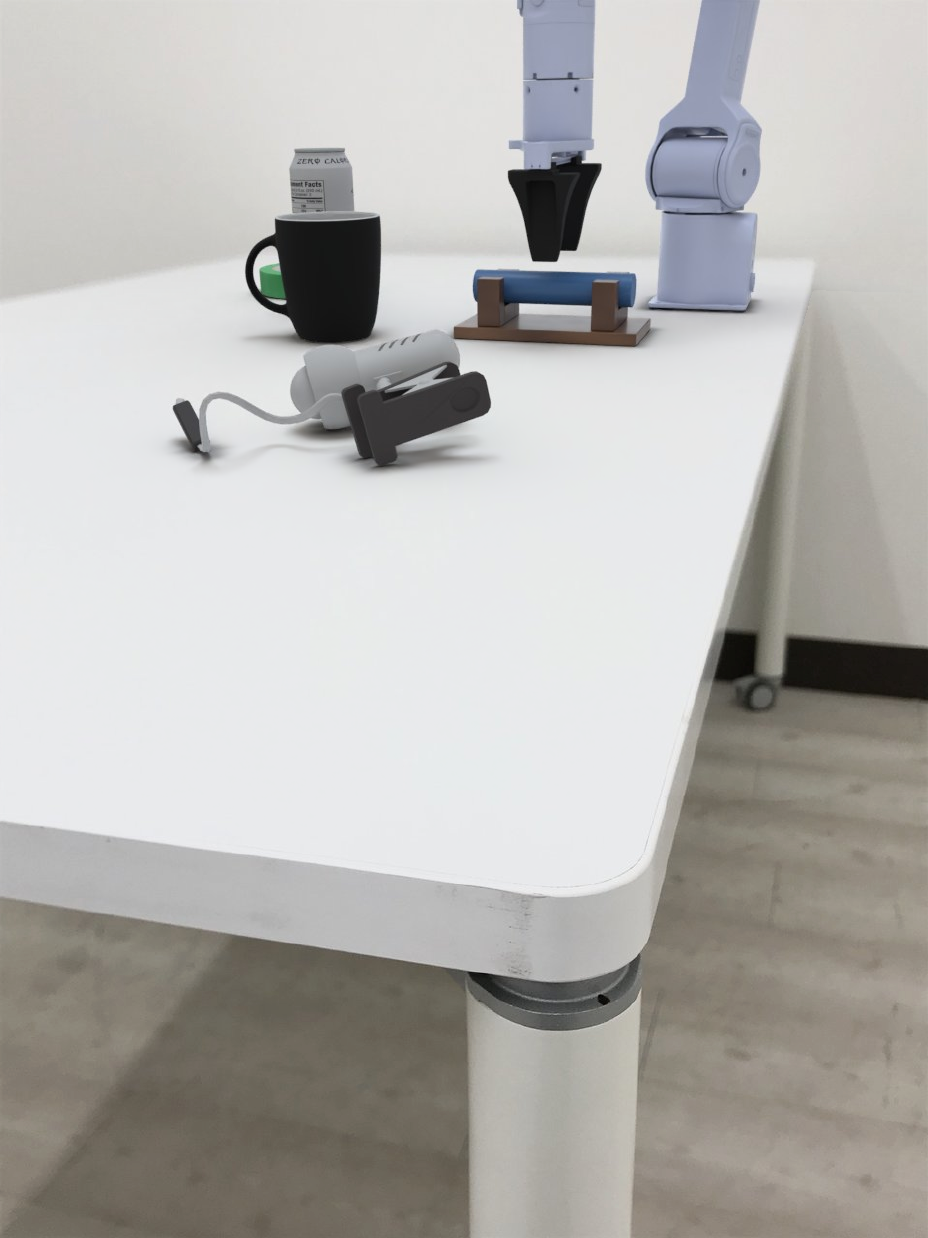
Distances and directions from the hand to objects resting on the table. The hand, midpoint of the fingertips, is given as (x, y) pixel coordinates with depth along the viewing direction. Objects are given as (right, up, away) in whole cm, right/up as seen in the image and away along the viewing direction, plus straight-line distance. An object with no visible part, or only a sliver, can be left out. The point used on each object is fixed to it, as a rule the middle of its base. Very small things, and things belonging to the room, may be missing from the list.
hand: (555, 255), depth 95 cm
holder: (0, -6, +3) cm, 7 cm away
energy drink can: (-21, 0, +17) cm, 27 cm away
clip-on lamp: (-16, -21, -29) cm, 39 cm away
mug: (-21, -6, +3) cm, 22 cm away
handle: (0, -4, +2) cm, 4 cm away
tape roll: (-25, +5, +28) cm, 38 cm away
